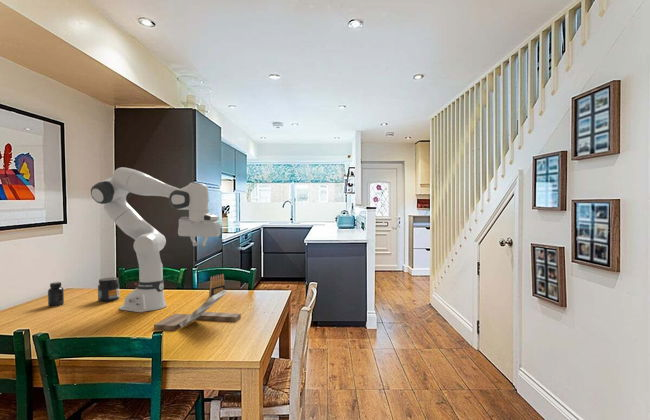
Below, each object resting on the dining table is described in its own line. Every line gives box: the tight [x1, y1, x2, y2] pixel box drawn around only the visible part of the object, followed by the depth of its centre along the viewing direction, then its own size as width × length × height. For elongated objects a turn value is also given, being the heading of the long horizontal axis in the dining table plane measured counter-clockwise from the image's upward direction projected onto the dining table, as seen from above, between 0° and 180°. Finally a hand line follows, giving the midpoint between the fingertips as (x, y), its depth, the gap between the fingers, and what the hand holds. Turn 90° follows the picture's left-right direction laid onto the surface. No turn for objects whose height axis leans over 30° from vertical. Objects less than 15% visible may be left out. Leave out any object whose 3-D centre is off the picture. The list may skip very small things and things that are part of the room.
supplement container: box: [97, 276, 120, 303], centre depth 206 cm, size 10×10×12 cm
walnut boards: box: [153, 311, 242, 331], centre depth 165 cm, size 31×21×2 cm
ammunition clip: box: [208, 273, 226, 298], centre depth 217 cm, size 11×2×12 cm, turn 149°
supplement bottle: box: [47, 281, 65, 307], centre depth 195 cm, size 7×7×12 cm
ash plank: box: [179, 289, 228, 328], centre depth 162 cm, size 20×12×2 cm
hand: (199, 245), depth 173 cm, fingers open, 3 cm apart
